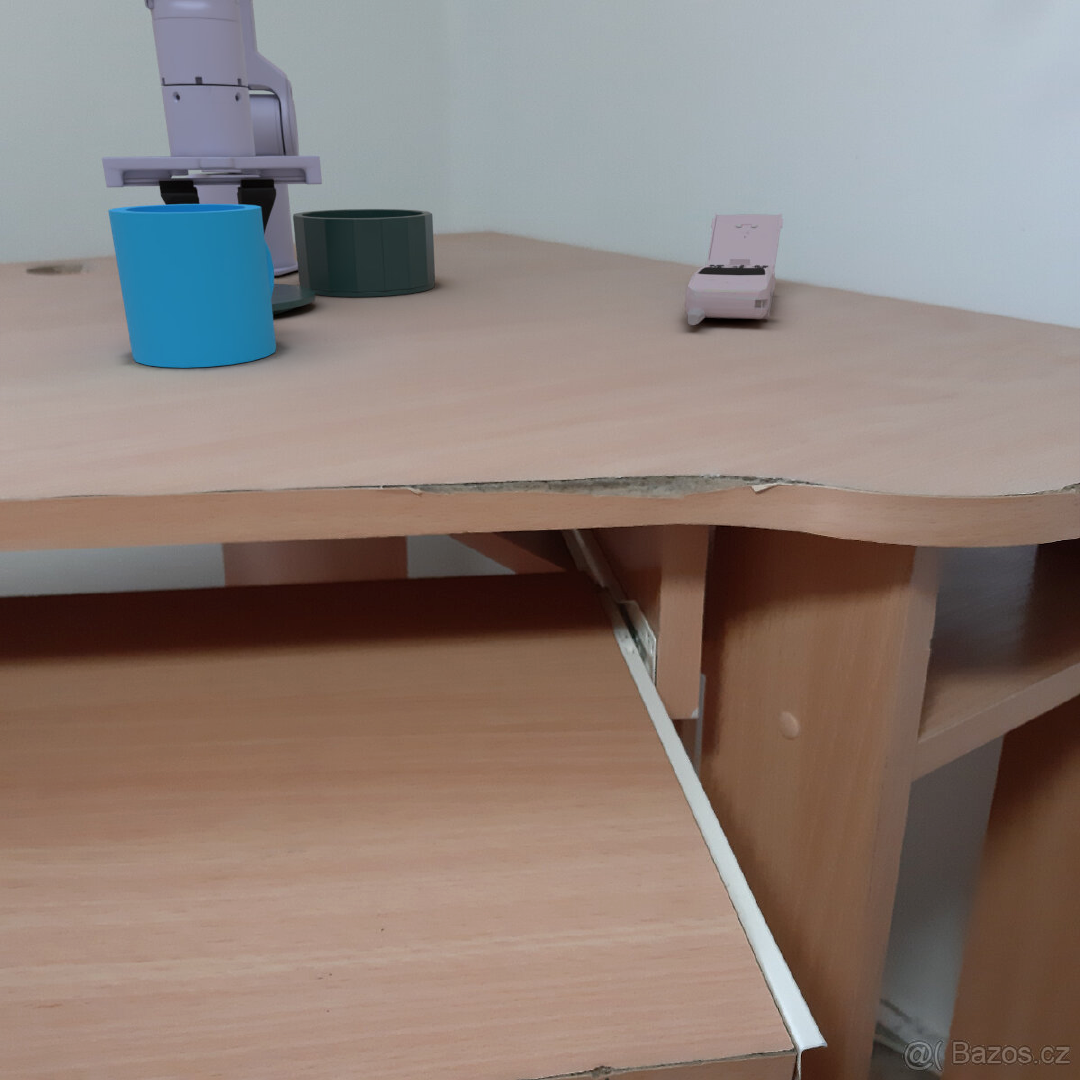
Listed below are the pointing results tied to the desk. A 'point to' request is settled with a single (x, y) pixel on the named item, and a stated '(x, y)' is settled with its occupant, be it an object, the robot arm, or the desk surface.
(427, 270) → the tin
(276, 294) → the lid
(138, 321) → the mug
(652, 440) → the desk surface
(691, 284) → the pale pink hinged device
